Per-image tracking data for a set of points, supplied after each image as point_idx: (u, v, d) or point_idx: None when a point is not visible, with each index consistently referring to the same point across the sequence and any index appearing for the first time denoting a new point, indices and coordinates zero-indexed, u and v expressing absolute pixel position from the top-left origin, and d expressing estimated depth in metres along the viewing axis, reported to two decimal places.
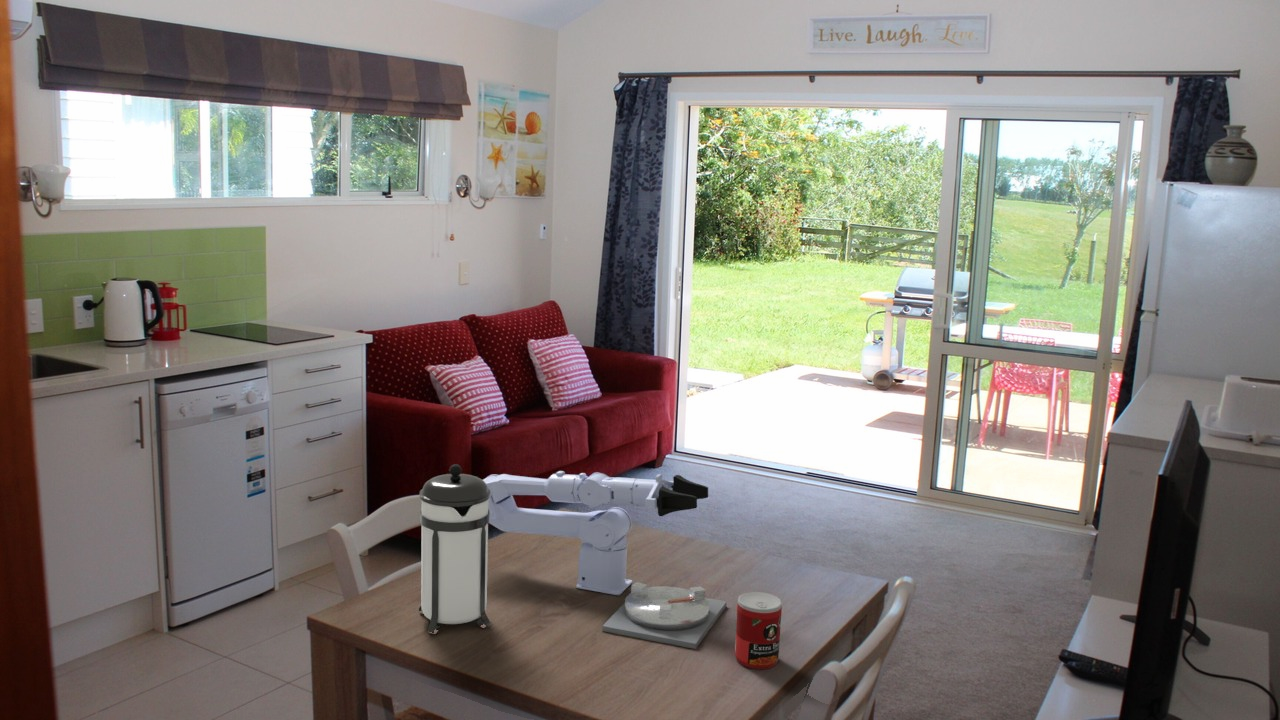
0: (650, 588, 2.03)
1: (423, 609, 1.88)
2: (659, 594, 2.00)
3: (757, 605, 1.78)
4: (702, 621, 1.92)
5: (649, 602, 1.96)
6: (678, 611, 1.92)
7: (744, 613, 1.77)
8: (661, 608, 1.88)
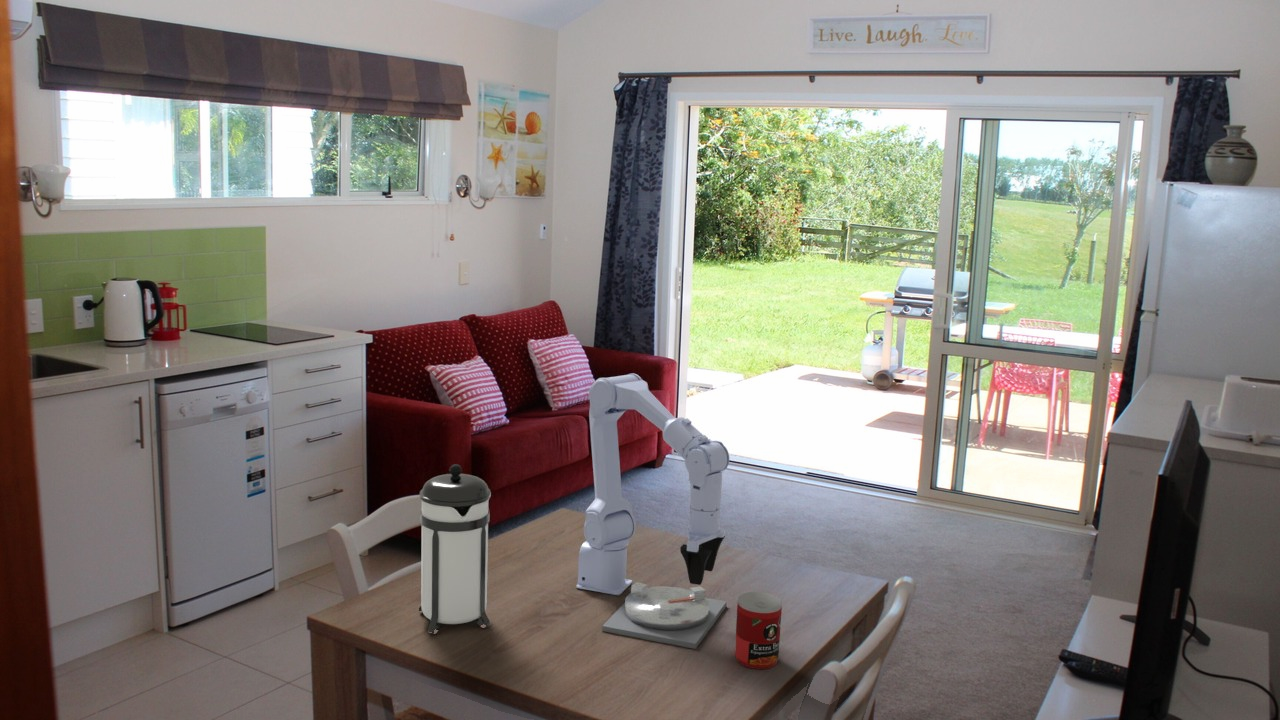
0: (650, 588, 2.03)
1: (423, 609, 1.88)
2: (659, 594, 2.00)
3: (757, 605, 1.78)
4: (702, 621, 1.92)
5: (649, 602, 1.96)
6: (678, 611, 1.92)
7: (744, 613, 1.77)
8: (661, 608, 1.88)
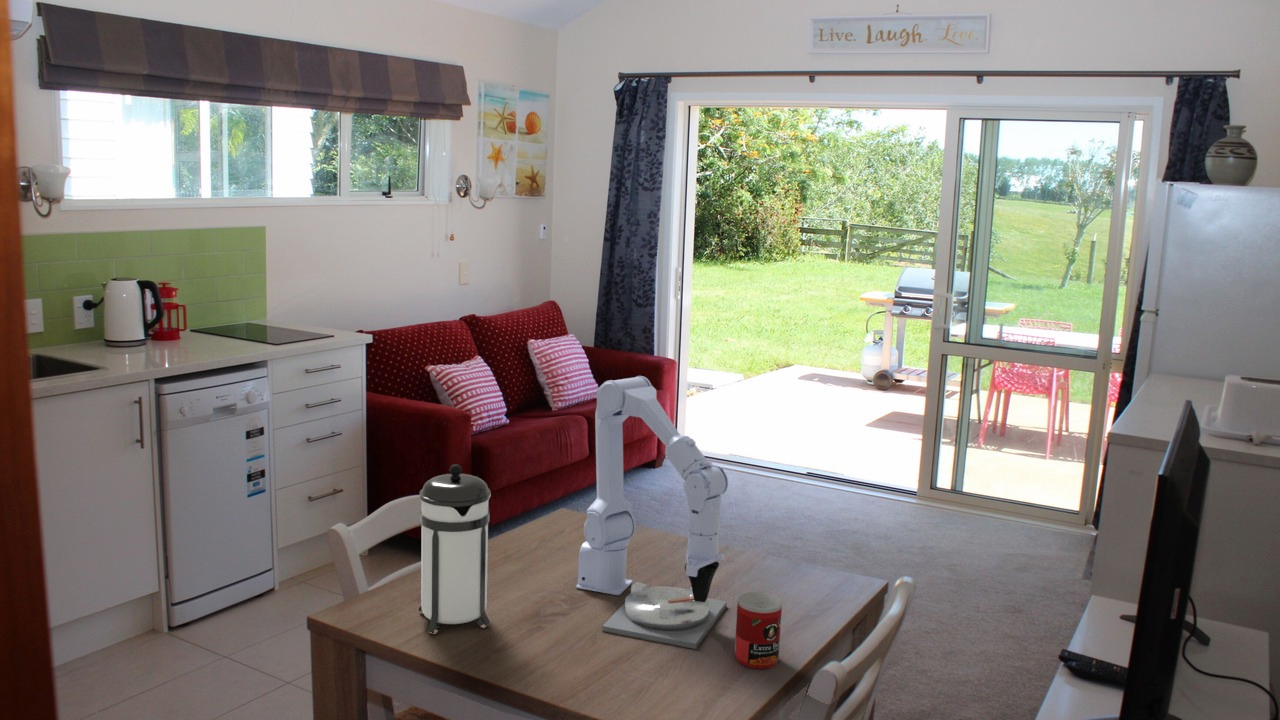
0: (650, 588, 2.03)
1: (423, 609, 1.88)
2: (659, 594, 2.00)
3: (757, 605, 1.78)
4: (702, 621, 1.92)
5: (649, 602, 1.96)
6: (678, 611, 1.92)
7: (744, 612, 1.77)
8: (661, 608, 1.88)
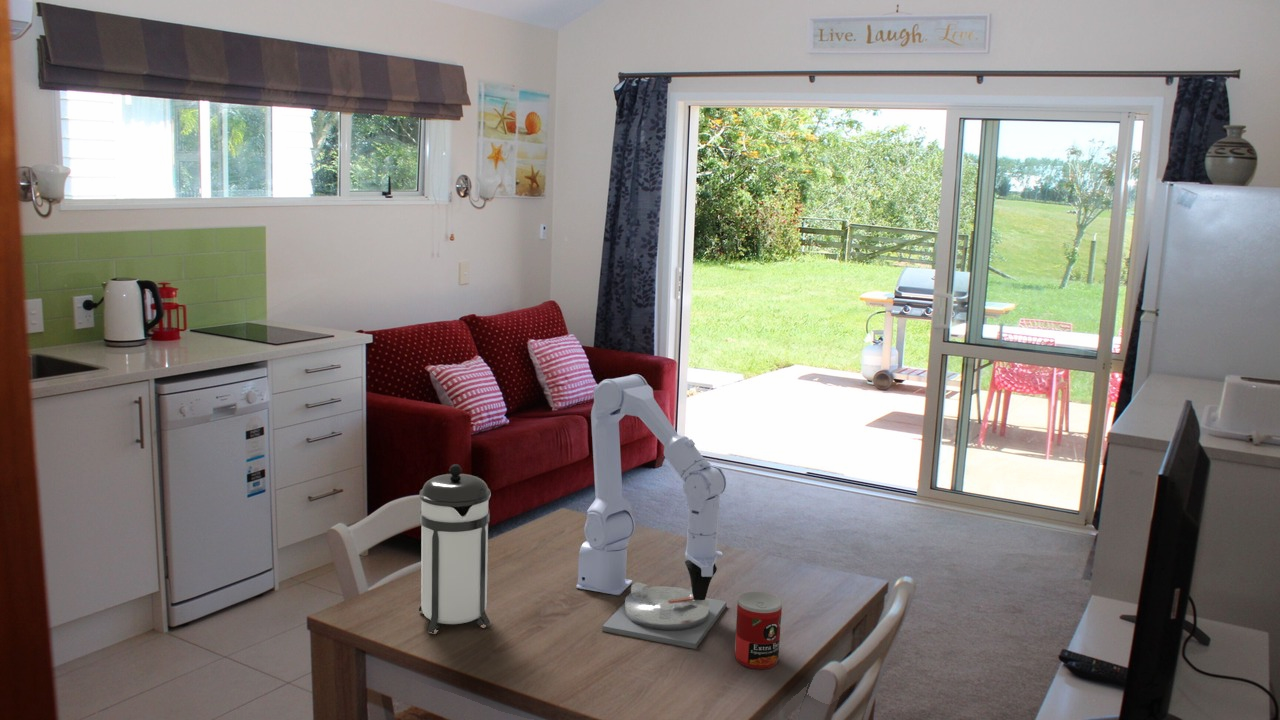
0: (650, 588, 2.03)
1: (423, 609, 1.88)
2: (659, 594, 2.00)
3: (757, 605, 1.78)
4: (702, 621, 1.92)
5: (649, 602, 1.96)
6: (678, 611, 1.92)
7: (744, 612, 1.77)
8: (661, 608, 1.88)
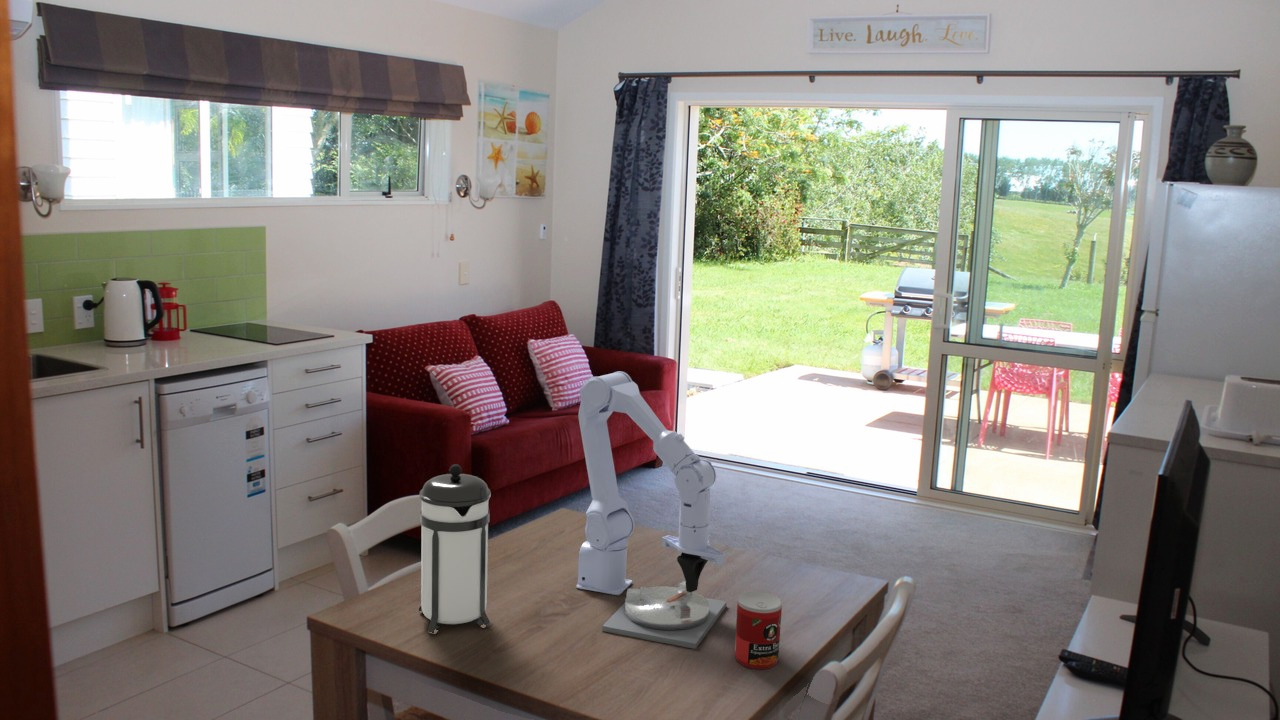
0: None
1: (423, 609, 1.88)
2: (651, 596, 1.99)
3: (757, 605, 1.78)
4: (708, 613, 1.96)
5: (652, 605, 1.94)
6: None
7: (744, 613, 1.77)
8: (681, 609, 1.89)
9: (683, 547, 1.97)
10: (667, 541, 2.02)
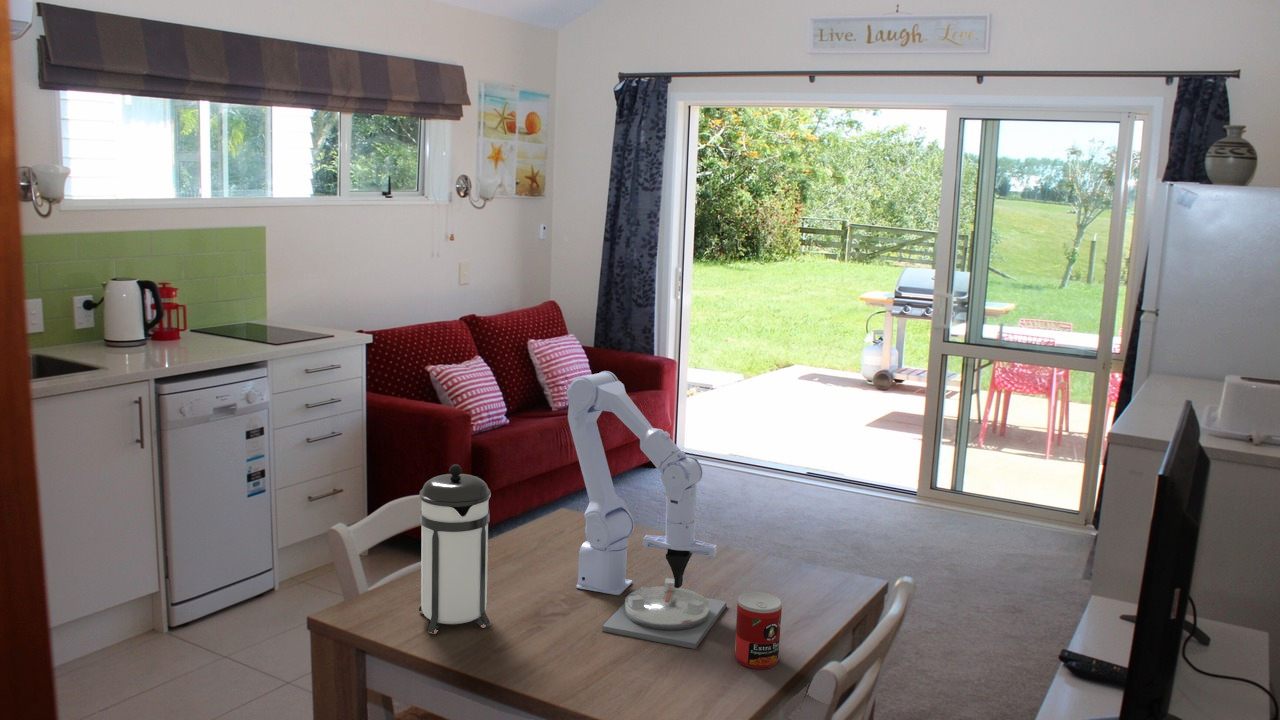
0: None
1: (423, 609, 1.88)
2: (646, 600, 1.97)
3: (757, 605, 1.78)
4: None
5: (660, 608, 1.93)
6: None
7: (744, 613, 1.77)
8: (698, 605, 1.91)
9: (675, 544, 1.98)
10: (650, 541, 2.01)
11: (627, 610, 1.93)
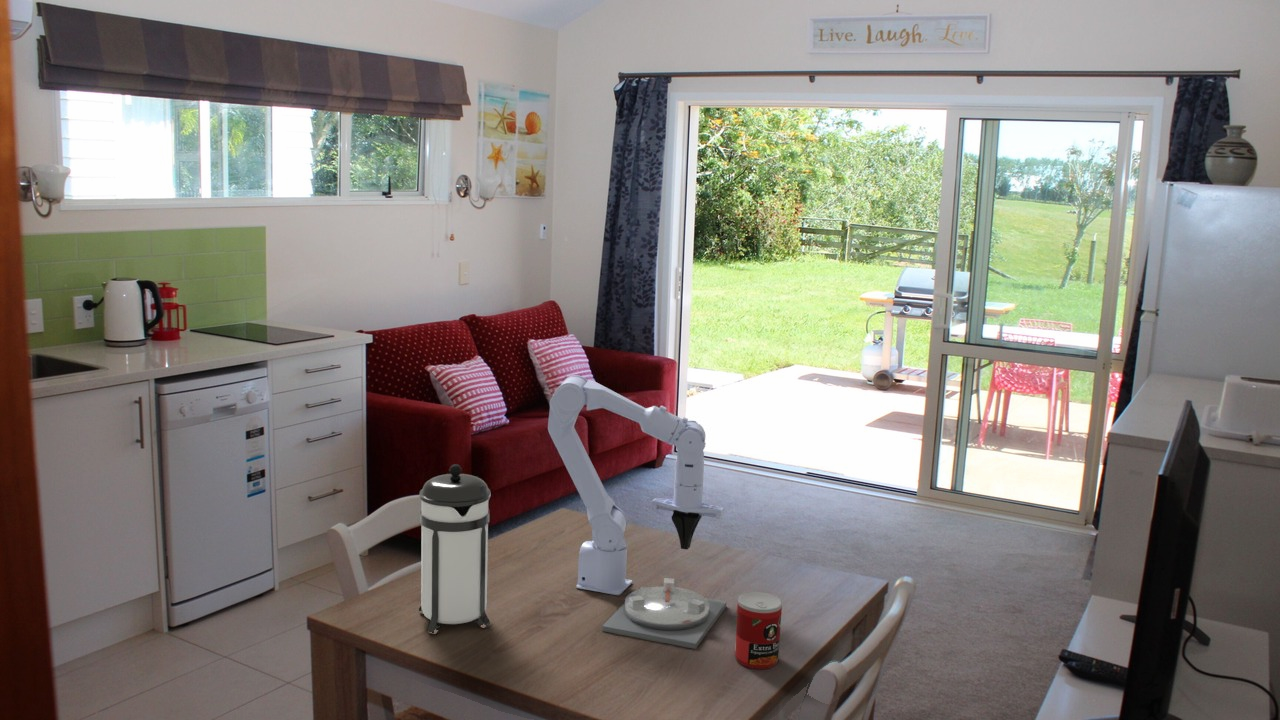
0: (628, 599, 1.97)
1: (423, 609, 1.88)
2: (646, 600, 1.97)
3: (757, 605, 1.78)
4: None
5: (660, 608, 1.93)
6: None
7: (744, 612, 1.77)
8: (699, 604, 1.91)
9: (683, 506, 2.04)
10: (659, 503, 2.08)
11: (628, 611, 1.93)
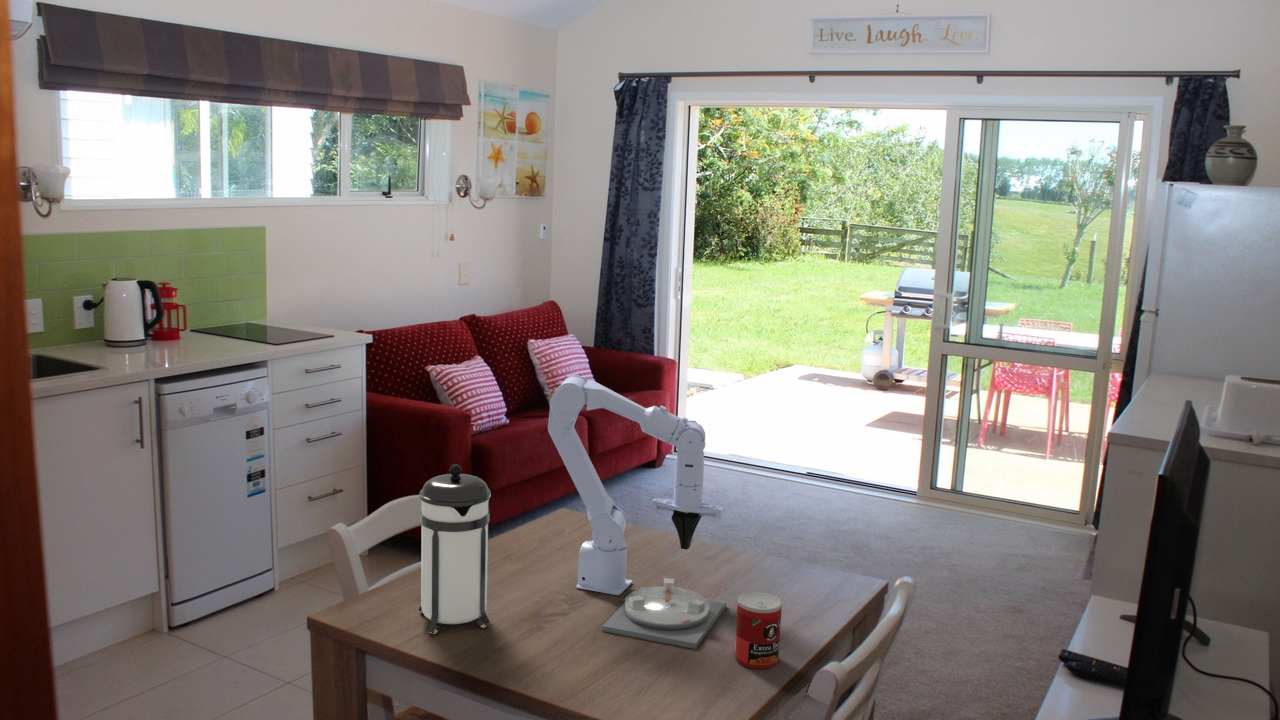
0: (628, 599, 1.97)
1: (423, 609, 1.88)
2: (646, 600, 1.97)
3: (757, 605, 1.78)
4: None
5: (660, 608, 1.93)
6: None
7: (744, 613, 1.77)
8: (699, 604, 1.91)
9: (683, 506, 2.04)
10: (659, 503, 2.08)
11: (628, 611, 1.93)
